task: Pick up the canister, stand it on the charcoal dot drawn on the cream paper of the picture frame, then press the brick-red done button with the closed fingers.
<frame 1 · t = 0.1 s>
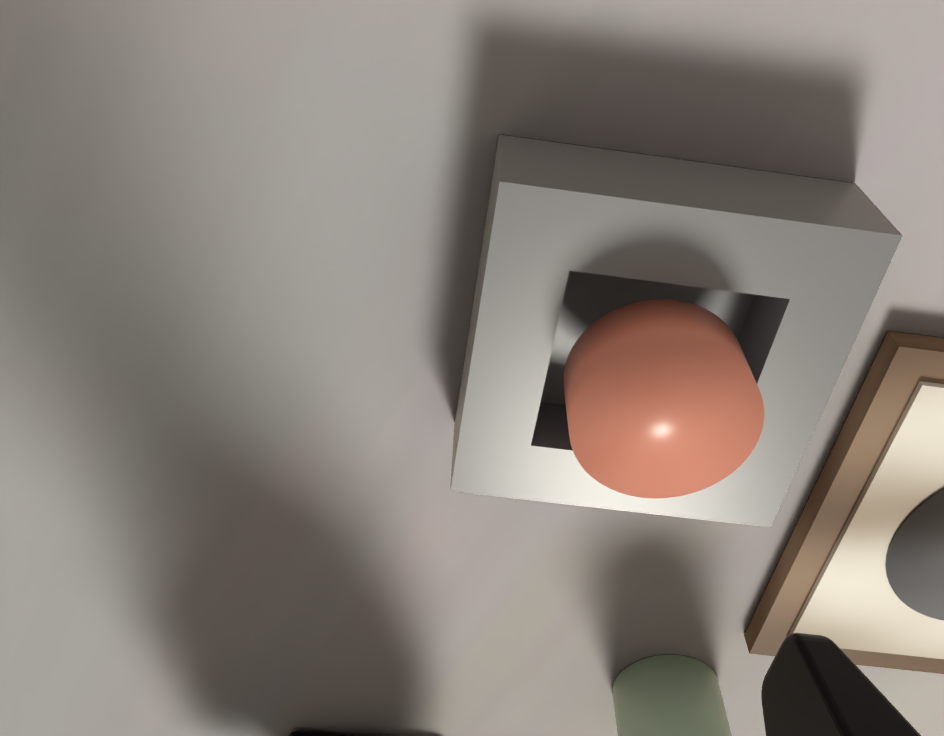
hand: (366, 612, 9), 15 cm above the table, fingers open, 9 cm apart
done button: (658, 400, 21), point 4 cm above the table, slide at 0.0 cm
button housing: (636, 315, 24), on the table
canister: (664, 688, 33), on the table
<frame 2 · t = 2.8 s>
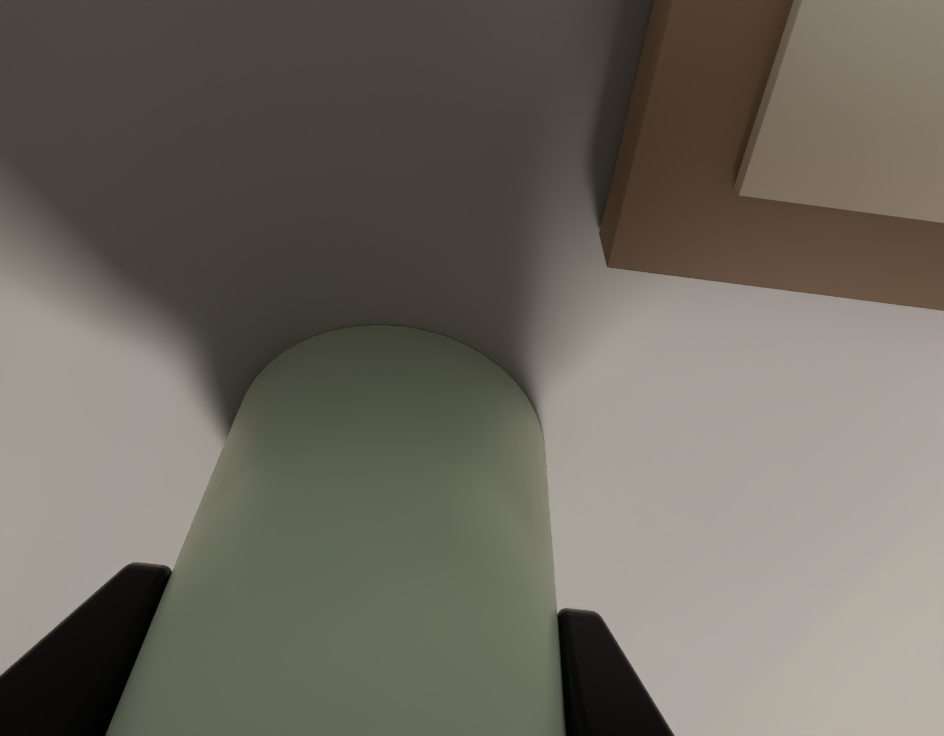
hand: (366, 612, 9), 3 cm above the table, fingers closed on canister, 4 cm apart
canister: (390, 457, 11), on the table, touching gripper
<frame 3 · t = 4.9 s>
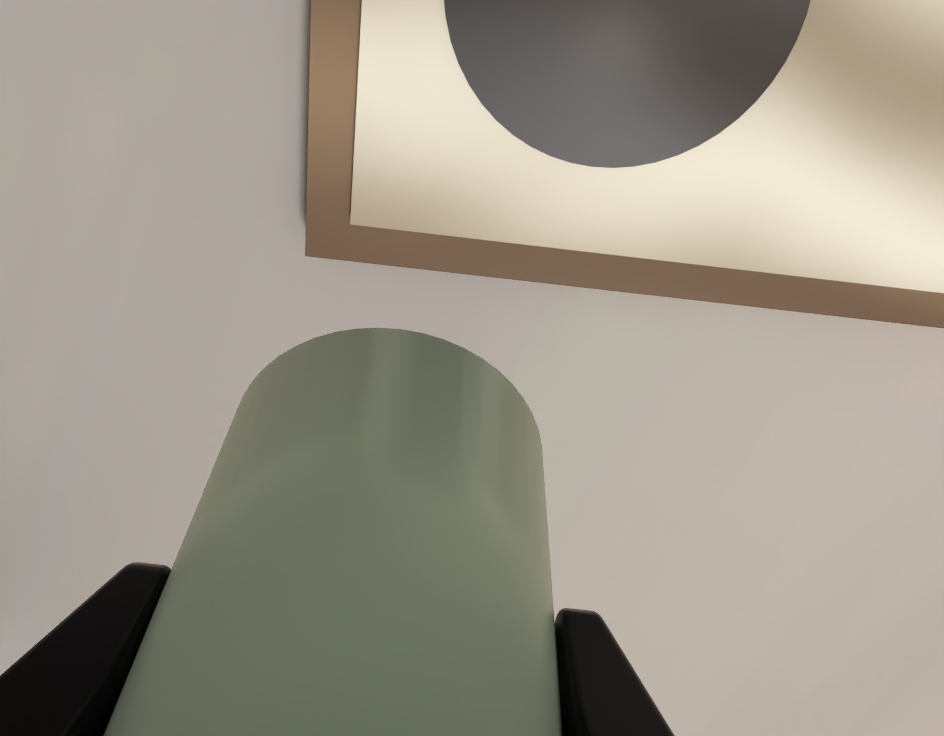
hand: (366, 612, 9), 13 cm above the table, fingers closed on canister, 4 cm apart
canister: (387, 459, 11), point 10 cm above the table, touching gripper
when the fingers open (5 cm above the table, at t = 6.9 s): canister drops 1 cm, resting on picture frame.
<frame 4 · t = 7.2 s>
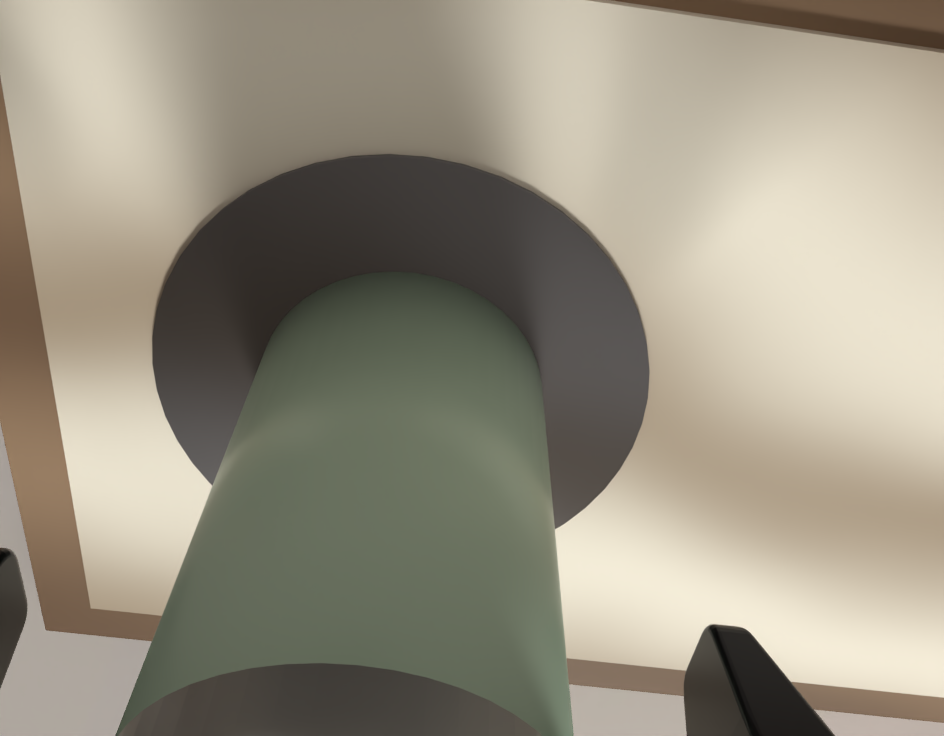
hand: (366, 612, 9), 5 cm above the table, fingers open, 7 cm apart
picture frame: (600, 375, 13), on the table
canister: (401, 396, 12), point 1 cm above the table, touching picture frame
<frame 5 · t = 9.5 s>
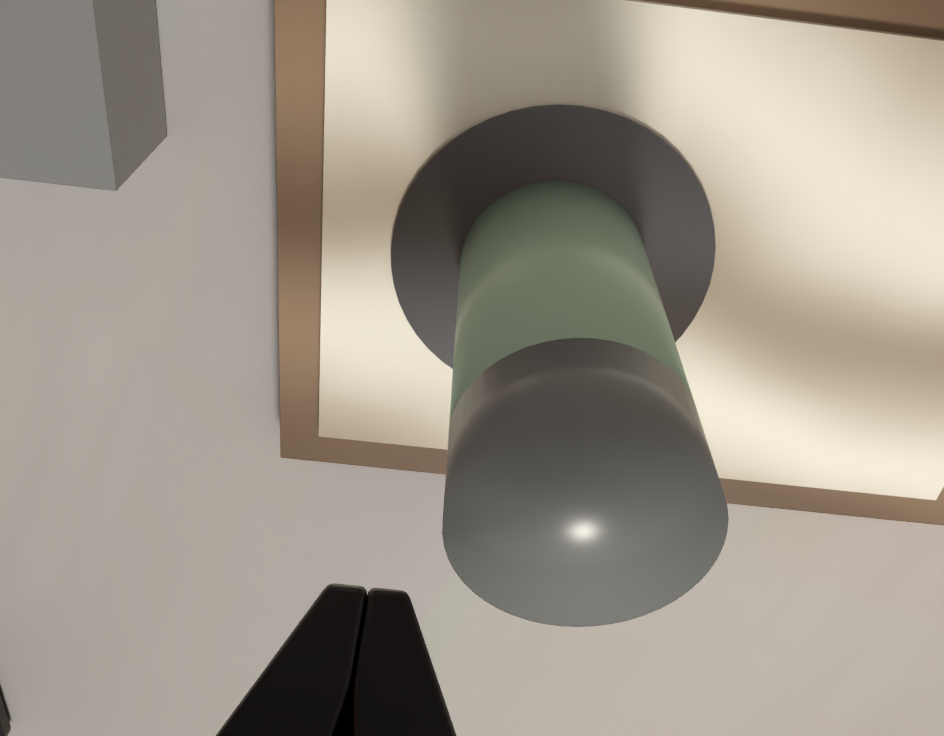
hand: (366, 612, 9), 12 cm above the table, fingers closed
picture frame: (678, 259, 20), on the table
canister: (551, 268, 19), point 1 cm above the table, touching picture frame
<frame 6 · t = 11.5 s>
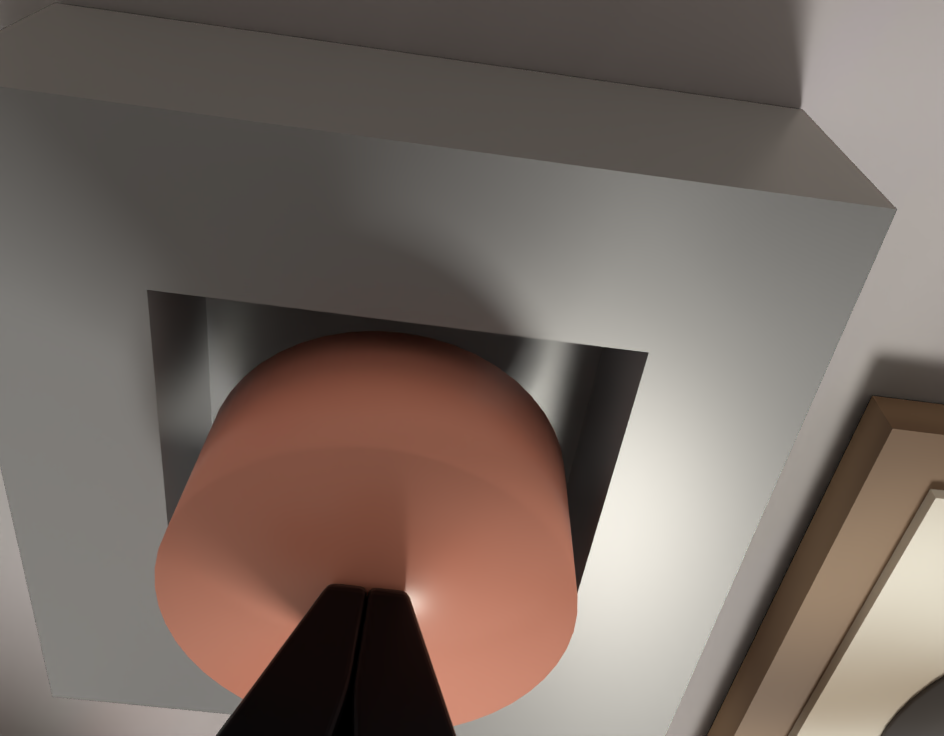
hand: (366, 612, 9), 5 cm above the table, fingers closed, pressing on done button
done button: (377, 540, 10), point 4 cm above the table, slide at 0.4 cm, touching gripper
button housing: (404, 366, 13), on the table
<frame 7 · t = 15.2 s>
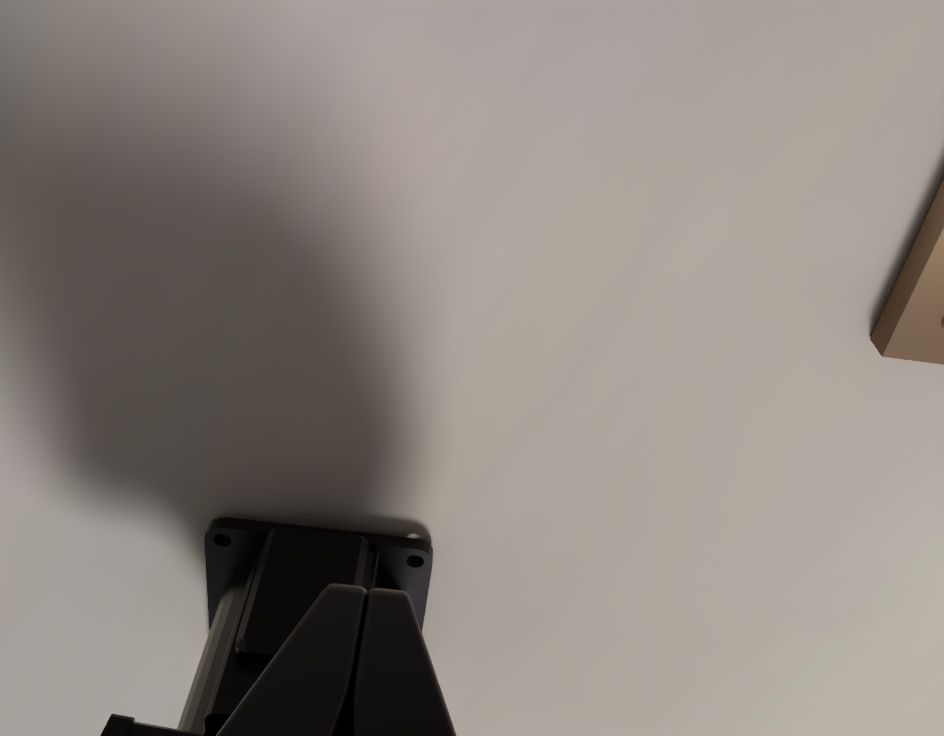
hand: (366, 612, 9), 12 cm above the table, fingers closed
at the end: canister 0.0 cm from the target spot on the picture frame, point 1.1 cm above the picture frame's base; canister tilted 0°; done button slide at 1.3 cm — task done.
